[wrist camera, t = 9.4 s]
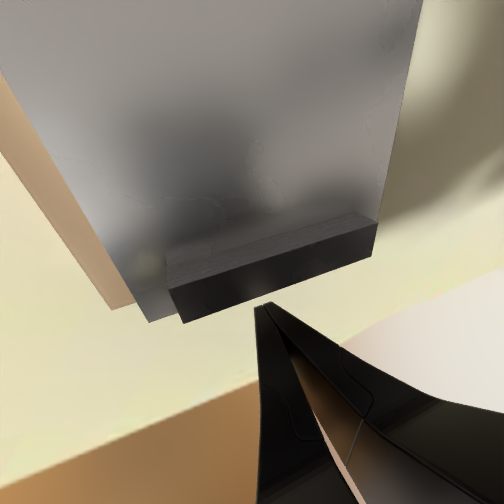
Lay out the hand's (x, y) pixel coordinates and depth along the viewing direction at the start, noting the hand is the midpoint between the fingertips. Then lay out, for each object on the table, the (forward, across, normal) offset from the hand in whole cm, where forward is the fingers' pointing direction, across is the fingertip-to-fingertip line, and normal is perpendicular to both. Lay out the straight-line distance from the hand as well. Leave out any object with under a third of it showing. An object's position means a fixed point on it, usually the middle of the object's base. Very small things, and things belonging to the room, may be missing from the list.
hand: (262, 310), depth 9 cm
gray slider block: (+1, 0, -7) cm, 7 cm away
